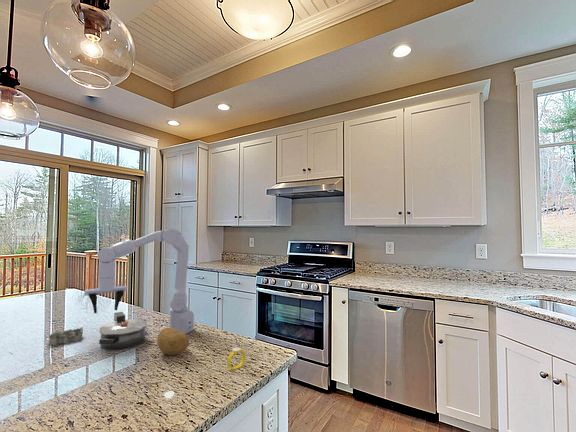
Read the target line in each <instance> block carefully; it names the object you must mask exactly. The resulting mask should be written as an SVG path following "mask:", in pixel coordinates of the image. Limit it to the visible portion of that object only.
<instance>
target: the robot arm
mask: <svg viewBox="0 0 576 432" xmlns="http://www.w3.org/2000/svg"><path fill="white" fill-rule="evenodd" d="M153 242H164V243H166V244H167V245H171V246H172V247H173V248H174V249H175V250H176V251H177V252H176V264H175V265H176V266H175V276H174V277H175V278H174V279H175V280H174V289H173V295H172V298H171V300H170V305H169V306H170V309H169V328H174V329H177V330H179V331H181V332H183V333H184V334H185V335H187V334H188V333H190V332H192V331H194V330H196V329H195V325H194V324H195V314H194V312H193V311H191V310H189V308H188V306H187V303H188V296H187V294H186V292H187V290H186V289H187V287H186V286H187V276H188V274H187V273H188V263H189V261H188V260H189V248H190V246H189V244H188V243H187V241H186V239H185V238H184V236H183V234H182V233H181V232H180V231H179V230H177V229H176V228H167V229H163V230H158V231H154V232H152V233H150V234H147V235H145V236H142V237H139V238H137V239H135V240H132V239H129V238H128V239H126V238H125V239H122V240H121V241H120V242H118V243H115V244H113V243H112V244H110V245H109V247H102V248H101V249H100V250H99V251H98V252H97V259H98V261H99V262H98V263H99V264H98V265H99V266H98V285H97V286H98V287H97V288H90V289H84V296H85V297H86V296H88V298H89V299H90V301H91V303H92V307H93V314H97V313H98V309H97V308H98V307H97V302H98V301H97V300H98V295H101V294H111V293H114V311H118V307H119V304H120V301H121V300H122V297H123V295H124V292H127V291H128V286H127V285H123V286H120V285H119V286H118V285H116V259H120V258H123V257H125V256H127V255H129V254H133V253H134V252H135V251H136V249H137V248H139V247H142V246H145V245H148V244H150V243H153Z"/></svg>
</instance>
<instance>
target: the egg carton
mask: <svg viewBox="0 0 576 432" xmlns="http://www.w3.org/2000/svg"><path fill="white" fill-rule="evenodd" d="M83 333H84V328H83V327H79V328H73V329H70V328H69V330H68V329H67V330H62V331H61V330H55V331H53V332H52V333H50V335H49V337H48V340H49V341H48V342H49V343H48V344H49V346H50V345H51V346H56V345H59V344H66V343H67V344H68V343H70V342H79V341H82V340H83Z"/></svg>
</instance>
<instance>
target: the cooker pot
mask: <svg viewBox="0 0 576 432" xmlns="http://www.w3.org/2000/svg"><path fill="white" fill-rule="evenodd" d="M143 320H144V321H146V322H147V320H146V319H143ZM98 340H99V341H98V342H99V343H98V344H99V345H100V348H101V349H102V350H106V351H120V349H121V350H126V348H127V349H130V348H133V347H136V346H139V345H142V344H143V343H145V340H146V328H144V329H143V330H141V331H138V332H135V333H131V334H125V335H116V336H108V335H102V334H100V339H98Z"/></svg>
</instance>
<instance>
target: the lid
mask: <svg viewBox="0 0 576 432" xmlns="http://www.w3.org/2000/svg"><path fill="white" fill-rule="evenodd" d="M144 320H145V319H135V318H134V319H133V318H132V319H131V318H130V319H126V314H125V313H124V312H123V311H118V312H114V313H113V321H112V322H109V323H106V324H104V325H102V326H101V327H99V334H100V335H101V334H102V335H108V336H116V335H125V334H131V333H135V332H138V331H141V330H143V329H144V328H145V329H147V327H148V322H147V320H146V321H144Z"/></svg>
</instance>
